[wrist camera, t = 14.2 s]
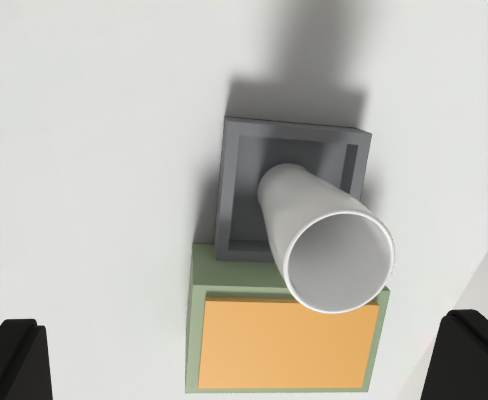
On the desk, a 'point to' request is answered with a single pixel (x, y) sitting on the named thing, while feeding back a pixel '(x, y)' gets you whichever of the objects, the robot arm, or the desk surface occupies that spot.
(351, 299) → the drinking glass
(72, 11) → the desk surface
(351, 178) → the green box with frame
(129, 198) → the desk surface
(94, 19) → the desk surface
